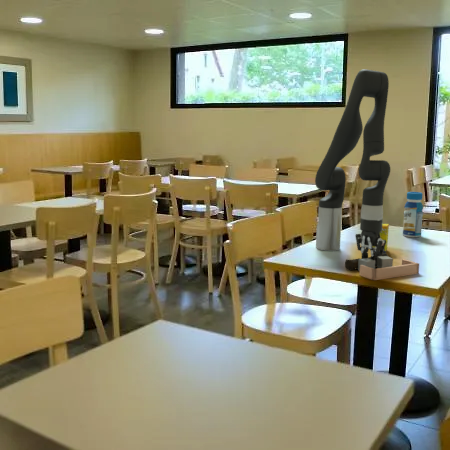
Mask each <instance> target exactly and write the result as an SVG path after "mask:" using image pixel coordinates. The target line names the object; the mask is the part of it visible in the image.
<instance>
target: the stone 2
mask: <svg viewBox="0 0 450 450" xmlns="http://www.w3.org/2000/svg"><path fill="white" fill-rule="evenodd" d="M393 261H394V258H392V257H390V256H389V255H388V256H379V257H377V265H376V266H375V268H376V267H377V268H384V267H392V266H394V263H393ZM377 268H376V269H377Z"/></svg>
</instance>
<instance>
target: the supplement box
mask: <svg viewBox="0 0 450 450" xmlns="http://www.w3.org/2000/svg"><path fill="white" fill-rule="evenodd" d="M389 227H390V224H389V223H382V231H381V232H380V237H381V239H382V240H386V245H385V248H384V251H383V253H387V251H388V244H389V243H388V242H389V240H388V239H389ZM372 247H375V246H372ZM369 251H370V252H371V250H370V249H369ZM379 251H380V250H379ZM374 253H375V249H374Z"/></svg>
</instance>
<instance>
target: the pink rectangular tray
mask: <svg viewBox="0 0 450 450" xmlns="http://www.w3.org/2000/svg"><path fill="white" fill-rule="evenodd" d="M419 271H420V263H418V262H415V261H412V260H408V259H406V258H404V259H402V260H401V265H392V267H384V268H375V269H373V268H370V267H367V266H364V265H360V271H359V276H361V277H363V278H365V279H368V280H371V281H377V280H384V279H391V278H399V277H405V276H410V275H418V274H419Z"/></svg>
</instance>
